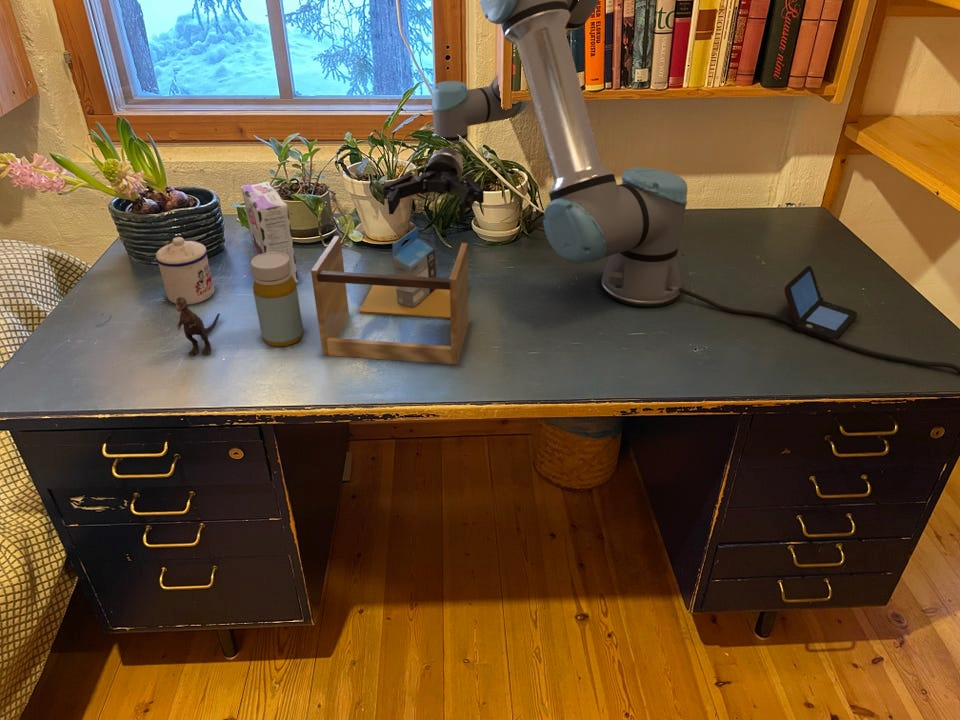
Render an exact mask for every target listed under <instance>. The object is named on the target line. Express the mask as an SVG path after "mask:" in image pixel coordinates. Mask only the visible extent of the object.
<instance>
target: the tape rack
mask: <svg viewBox="0 0 960 720" xmlns="http://www.w3.org/2000/svg"><path fill="white" fill-rule="evenodd" d="M341 239H342V238H341V235H334V236H333V237H332V239H331V241H330V242H329V244H328V245H327V246H326V248H325V249H324V251H323V253H322V254H321V255H320V256H319V258H318V260H317V261H316V263H315V264H314V265H313V267H312V268H311V270H310V275H311V280H312V288H313V289H312V290H313V295H314V303H315V308H316V316H317V323H318V324H317V325H318V331H319V338H320V344H321V345H320V346H321V352H322V356H327V357H328V356H331V357H332V356H333V357H345V358H346V357H347V358H357V359H358V358H359V359H360V358H361V359H371V360H372V359H373V360H385V361H387V360H388V361H398V362H399V361H400V362H401V361H402V362H414V363H427V364H439V365H440V364H442V365H452V366H458V364H459V361H460V357H461V353H462V349H463V346H464V343H465V342H464V341H465V340H466V339H465V338H466V334H467V331H468V326H469V249H468V247H469V244H468V243H467V242H461V244H460V247H459V250H458V253H457V256H456V260H455V262H454V265H453V268H452V271H451V275H450V277H449V278H446V277H436V278H432V277H416V276H399V275H395V274H380V273H366V272H364V273H363V272H350V271H349V272H348V271H345V266H344V257H343V247H342V241H341ZM347 284H349V285H351V284H352V285H366V286H373V285H381V286H397V287H413V288H429V289H445V290H450V318H451V319H450V345H440V344H439V345H437V344H423V343H411V342H410V343H408V342H398V341H397V342H395V341H383V340H382V341H381V340H369V339H356V338H355V339H353V338H340V335H341V333H342V331H343V329H344V327H345V325H346V324H347V321H348V320H349V318H350V310H349V301H348V292H347Z"/></svg>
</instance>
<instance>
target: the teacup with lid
mask: <svg viewBox="0 0 960 720" xmlns="http://www.w3.org/2000/svg"><path fill="white" fill-rule="evenodd" d="M155 261H156V262H157V264H158V267H159V271H160V275H161V279H162V283H163V286H164V289H165V293H166V297H167V299H168V301H170V302H171V303H172V304H175V305H176V299H177V298H179V297H184V298H185V300H186V301H187V306H188V305H196V304H198V303H199V304H200V303H202V302H205V301H206V300H208V299H210V298H211V297H212V296H213V295H214V293H215V285H214V281H213V276H212V272H211V268H210V263H209V259H208V249H207V248H206V246H205V245H204V244H203V243H202V242H201V243H200V242H198V241H193V240H185V239H184V238H183V237H181V236H177V237H174V238H173V239H172V241H171V243H169V244H167V245H164V246H162V247H161V248H159V249H158V250H157V251H156V253H155Z"/></svg>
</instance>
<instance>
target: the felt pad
mask: <svg viewBox="0 0 960 720" xmlns="http://www.w3.org/2000/svg"><path fill="white" fill-rule="evenodd" d="M359 314H373V315H388V316H389V315H390V316H404V317H417V318H418V317H419V318H433V319H447V320H448V319H449V320H451V318H450V290H445V289H435V290H433V291H432V292H431V293H430V294H429V295H428V296H427V297H426V298H424V299H423V300H422V301H421V302H420V303H419V304H418V305H417V306H416V307H414V308H413V307H408V306H404V305H401V304H398V301H397V291H396V286H381V285H371V288H370V289H369V292H368V294H367V295H366V298H365V299H364V301H363V303H362V304H361V307H360V309H359Z"/></svg>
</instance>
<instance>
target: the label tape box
mask: <svg viewBox="0 0 960 720" xmlns="http://www.w3.org/2000/svg"><path fill="white" fill-rule="evenodd" d="M419 228H420V227H419V226H417V227H415V228H414V229H411V230H410V231H409V232H408V233H406V234H405V235H404V236H402V237H401V238H399V239H398V240H396V241H395V242H394V243H392V262H393V273H394V275H399V276H416V277H432V278H437V266H436V265H437V264H436V251H435V248H433V247H431V246H430V245H429V244H427V243H426V242H424V241H423V240H422V239H420V238H419ZM406 240H407V242H406ZM405 242H406V243H405ZM403 243H405V244H403ZM433 290H435V289H429V288H413V287H397V286H396V291H397V301H398V304H401V305H404V306H408V307H413V308H414V307H416V306H417V305H418V304H419V303H420V302H421V301H422V300H423V299H424V298H426V297H427V296H428V295H429V294H430V293H431V292H432V291H433Z"/></svg>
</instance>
